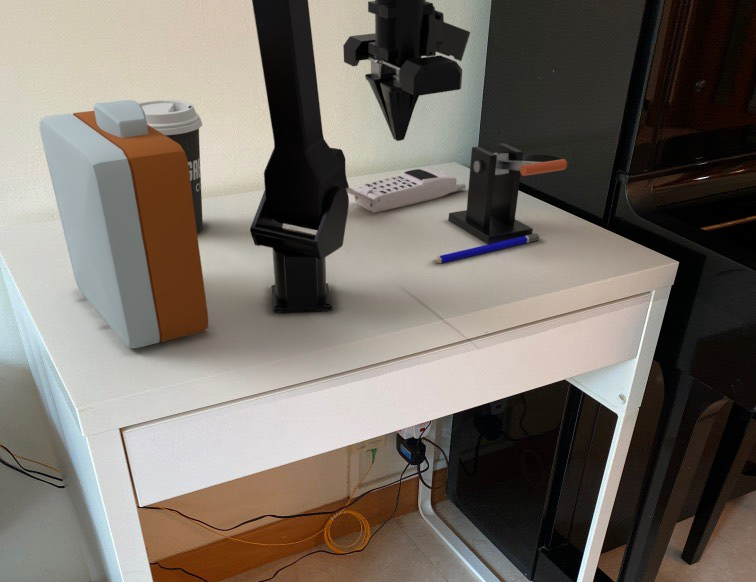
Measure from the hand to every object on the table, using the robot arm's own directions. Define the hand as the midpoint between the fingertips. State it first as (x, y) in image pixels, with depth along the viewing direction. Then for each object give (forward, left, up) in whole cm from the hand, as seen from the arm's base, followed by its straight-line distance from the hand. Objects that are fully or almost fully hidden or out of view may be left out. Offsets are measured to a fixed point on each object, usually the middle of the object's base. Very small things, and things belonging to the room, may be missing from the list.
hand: (398, 139), depth 98 cm
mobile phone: (+12, -1, -12) cm, 17 cm away
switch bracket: (0, -13, -12) cm, 17 cm away
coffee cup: (+4, +29, -12) cm, 32 cm away
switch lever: (-4, -14, -4) cm, 15 cm away
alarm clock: (-21, +31, -12) cm, 39 cm away
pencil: (-8, -11, -12) cm, 18 cm away
